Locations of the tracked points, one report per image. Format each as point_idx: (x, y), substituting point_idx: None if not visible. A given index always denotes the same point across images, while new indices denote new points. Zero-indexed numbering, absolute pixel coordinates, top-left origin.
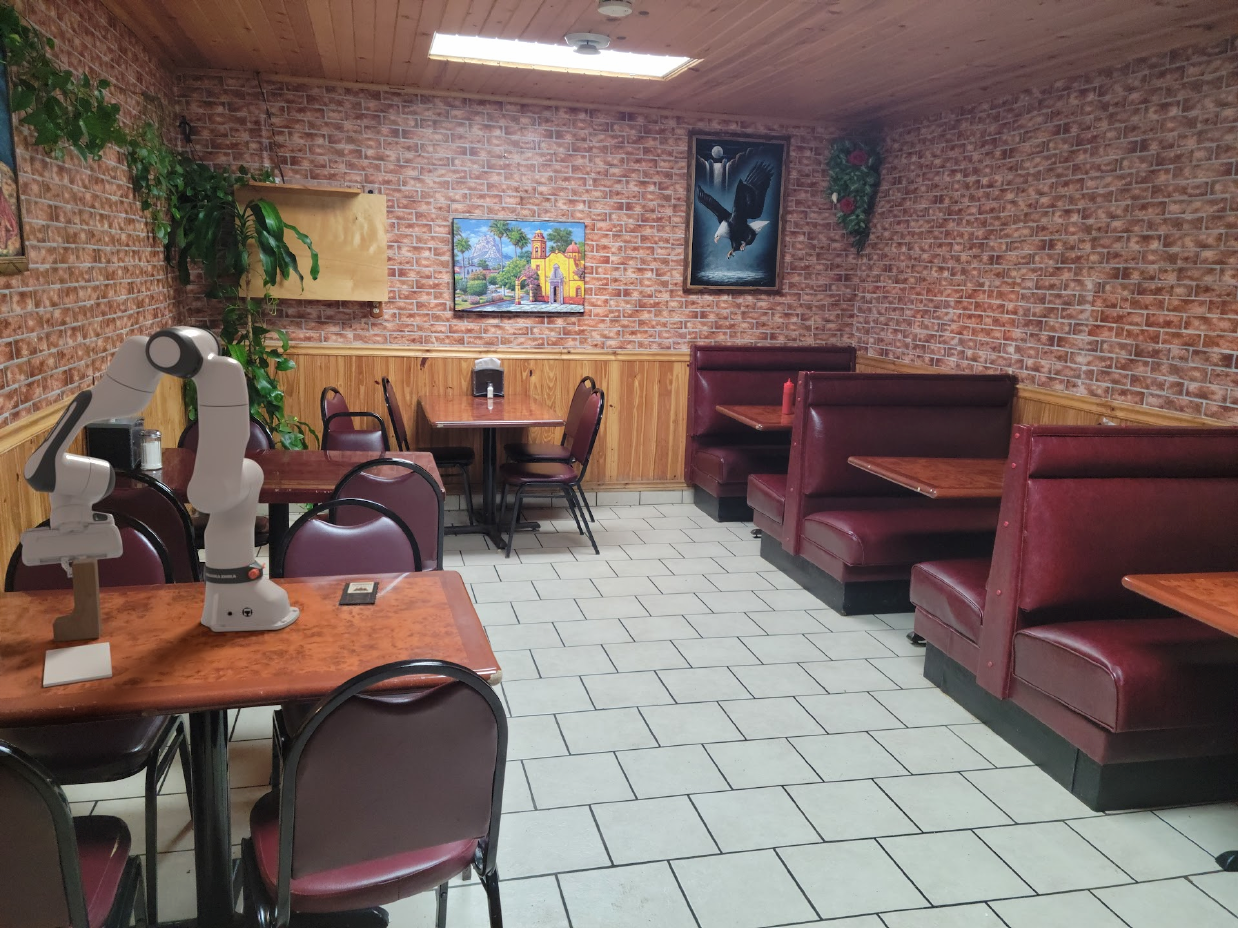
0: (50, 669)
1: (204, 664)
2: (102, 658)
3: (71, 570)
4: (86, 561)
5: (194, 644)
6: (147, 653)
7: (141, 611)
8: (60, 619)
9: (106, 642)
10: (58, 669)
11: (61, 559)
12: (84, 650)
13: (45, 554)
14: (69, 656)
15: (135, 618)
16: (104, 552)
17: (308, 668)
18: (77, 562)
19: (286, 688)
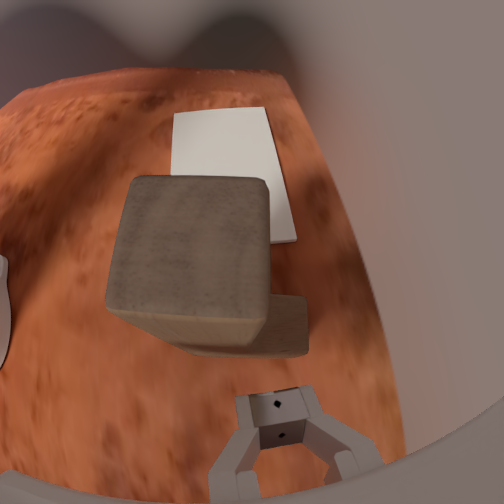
0: (265, 147)
1: (65, 135)
2: (184, 167)
3: (294, 402)
4: (173, 200)
5: (44, 209)
6: (112, 186)
7: (117, 477)
8: (292, 316)
9: None
10: (252, 143)
11: (376, 455)
12: None
13: (476, 431)
14: None
15: (123, 431)
16: (83, 493)
17: (7, 120)
18: (232, 190)
19: (43, 86)
